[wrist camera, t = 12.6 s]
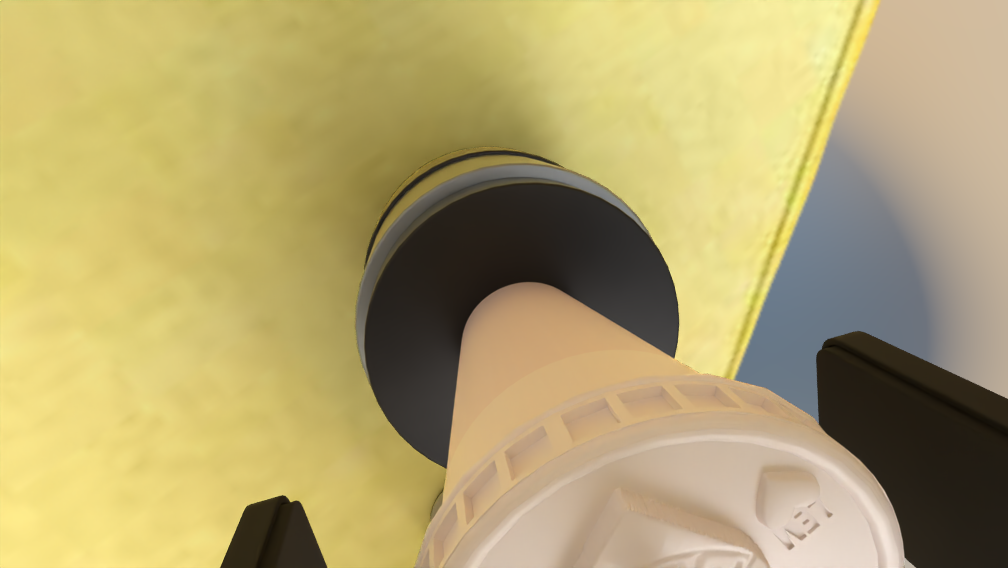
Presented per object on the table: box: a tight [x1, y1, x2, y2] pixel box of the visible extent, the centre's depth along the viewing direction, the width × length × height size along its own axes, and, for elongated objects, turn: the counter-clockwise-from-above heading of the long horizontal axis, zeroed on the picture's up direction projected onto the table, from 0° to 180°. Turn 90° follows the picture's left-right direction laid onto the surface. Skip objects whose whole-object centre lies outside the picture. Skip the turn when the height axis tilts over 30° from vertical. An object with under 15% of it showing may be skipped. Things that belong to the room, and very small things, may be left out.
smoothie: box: [414, 282, 905, 568], centre depth 9 cm, size 6×6×14 cm
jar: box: [355, 147, 679, 469], centre depth 21 cm, size 10×10×12 cm
